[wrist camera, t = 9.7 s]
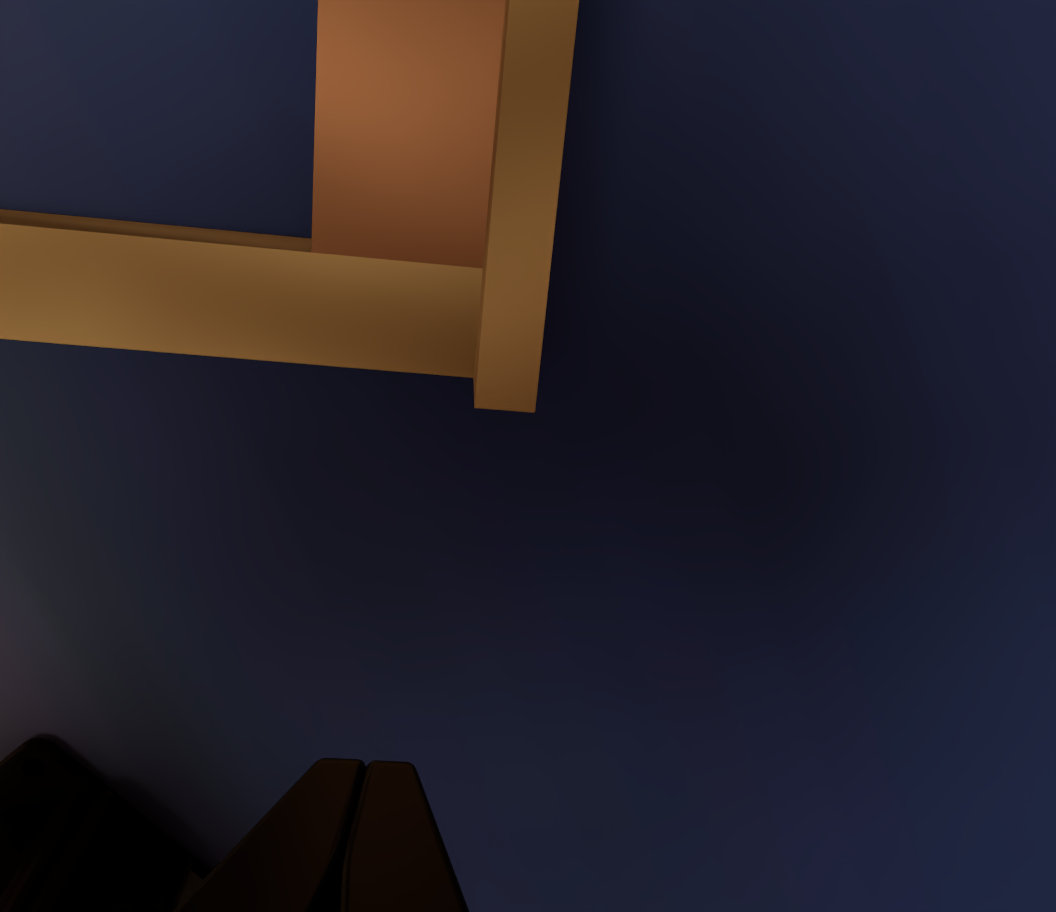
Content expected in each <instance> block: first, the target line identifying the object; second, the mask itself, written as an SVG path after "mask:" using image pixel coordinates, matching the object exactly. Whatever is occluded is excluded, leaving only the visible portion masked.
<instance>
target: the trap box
mask: <svg viewBox="0 0 1056 912" xmlns="http://www.w3.org/2000/svg"><path fill="white" fill-rule="evenodd" d="M578 6H579V0H318V27H317V63H316V100H315V136H314V172H313V209H312V239H311V238H301V237H290V236H280V235H269V234H258V233H248V232H237V231H227V230H216V229H206V228H195V227H184V226H174V225H163V224H153V223H142V222H132V221H121V220H110V219H100V218H89V217H79V216H68V215H58V214H47V213H36V212H26V211H15V210H5V209H0V339H11V340H23V341H35V342H47V343H59V344H71V345H83V346H95V347H107V348H119V349H132V350H144V351H156V352H168V353H180V354H192V355H204V356H216V357H228V358H240V359H252V360H265V361H277V362H289V363H301V364H313V365H325V366H337V367H349V368H361V369H373V370H386V371H398V372H410V373H422V374H434V375H446V376H458V377H470V378H473V379H474V408H483V409H496V410H508V411H521V412H533V413H535V407H536V397H537V388H538V379H539V370H540V360H541V351H542V342H543V332H544V323H545V314H546V304H547V295H548V286H549V276H550V267H551V258H552V248H553V239H554V230H555V220H556V211H557V202H558V192H559V183H560V174H561V164H562V155H563V146H564V136H565V127H566V118H567V108H568V99H569V90H570V81H571V71H572V62H573V53H574V43H575V34H576V25H577V15H578Z"/></svg>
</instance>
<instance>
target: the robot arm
mask: <svg viewBox="0 0 1056 912" xmlns="http://www.w3.org/2000/svg"><path fill="white" fill-rule="evenodd" d="M30 758H34V759H38V760H40V761H42V763H43V764H44V765H45V766H38V765H36V764H34V763H33V762H32V761H31V760H30ZM0 912H469V909H468V907H467V904H466V901H465V899H464V896H463V893H462V891H461V888H460V885H459V883H458V880H457V877H456V875H455V872H454V869H453V866H452V864H451V861H450V858H449V856H448V853H447V850H446V848H445V845H444V842H443V840H442V837H441V834H440V832H439V829H438V826H437V823H436V821H435V818H434V815H433V813H432V810H431V807H430V805H429V802H428V799H427V797H426V794H425V791H424V788H423V786H422V783H421V780H420V778H419V775H418V772H417V770H416V768H415V767H414V765H413V764H411V763H410V762H399V761H380V760H375V761H372V762H370V763H369V764H368V765H367V767H366V766H365V764H364V762H363V761H361V760H358V759H340V758H322V759H320V760H318V761H316V762H315V763H314V764H313V765H312V766H311V767H310V768H309V769H308V771H307V772H306V773H305V774H304V775H303V776H302V777H301V778H300V779H299V780H298V781H297V782H296V783H295V784H294V785H293V786H292V787H291V788H290V789H289V790H288V792H287V793H286V794H285V795H284V796H283V797H282V798H281V799H280V800H279V801H278V802H277V803H276V804H275V805H274V806H273V807H272V808H271V809H270V810H269V811H268V813H267V814H266V815H265V816H264V817H263V818H262V819H261V820H260V821H259V822H258V823H257V824H256V825H255V826H254V827H253V828H252V829H251V830H250V831H249V832H248V834H247V835H246V836H245V837H244V838H243V839H242V840H241V841H240V842H239V843H238V844H237V845H236V846H235V847H234V848H233V849H232V850H231V851H230V852H229V853H228V855H227V856H226V857H225V858H224V859H223V860H222V861H221V862H220V863H219V864H218V865H217V866H216V867H215V868H214V869H213V870H212V871H211V870H210V869H209V868H207V867H206V866H205V865H204V864H203V863H201V862H200V861H199V860H198V859H196V858H195V857H194V856H193V855H191V854H190V853H189V852H188V851H187V850H185V849H184V848H183V847H182V846H180V845H179V844H178V843H177V842H176V841H174V840H173V839H172V838H171V837H169V836H168V835H167V834H166V833H164V832H163V831H162V830H161V829H160V828H158V827H157V826H156V825H155V824H153V823H152V822H151V821H150V820H149V819H147V818H146V817H145V816H144V815H142V814H141V813H140V812H139V811H138V810H136V809H135V808H134V807H133V806H131V805H130V804H129V803H128V802H126V801H125V800H124V799H123V798H122V797H120V796H119V795H118V794H117V793H115V792H114V791H113V790H112V789H111V788H109V787H108V786H107V785H106V784H104V783H103V782H102V781H101V780H99V779H98V778H97V777H96V776H95V775H93V774H92V773H91V772H90V771H88V770H87V769H86V768H85V767H84V766H82V765H81V764H80V763H79V762H77V761H76V760H75V759H74V758H72V757H71V756H70V755H69V754H68V753H66V752H65V751H64V750H63V749H61V748H60V747H59V746H58V745H57V744H55V743H53V742H51V741H50V740H47V739H42V738H36V739H30V740H28V741H26V742H24V743H23V744H22V745H21V746H19V747H18V748H17V749H16V750H14V751H13V752H12V753H11V754H10V755H8V756H7V757H6V758H5V759H3V760H2V761H1V762H0Z"/></svg>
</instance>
